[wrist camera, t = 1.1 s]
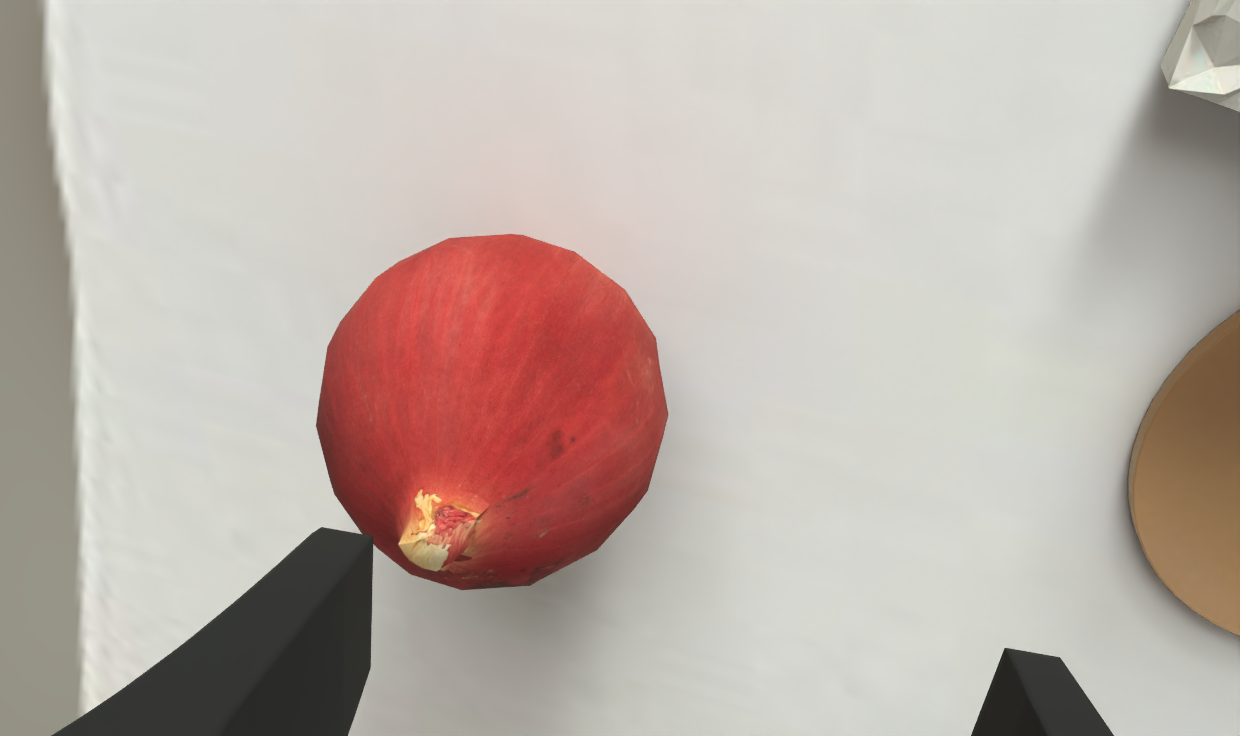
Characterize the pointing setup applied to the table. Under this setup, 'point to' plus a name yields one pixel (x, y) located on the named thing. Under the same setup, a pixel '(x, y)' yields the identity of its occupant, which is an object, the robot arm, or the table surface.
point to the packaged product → (1207, 53)
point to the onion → (491, 410)
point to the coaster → (1194, 479)
